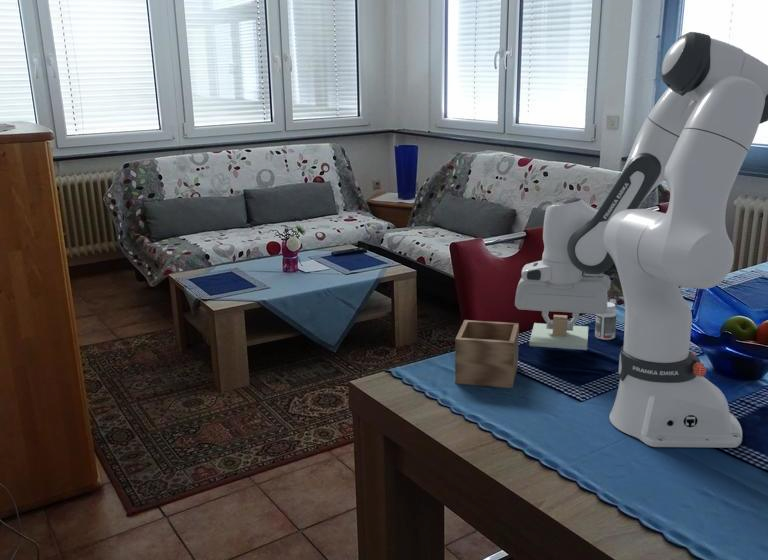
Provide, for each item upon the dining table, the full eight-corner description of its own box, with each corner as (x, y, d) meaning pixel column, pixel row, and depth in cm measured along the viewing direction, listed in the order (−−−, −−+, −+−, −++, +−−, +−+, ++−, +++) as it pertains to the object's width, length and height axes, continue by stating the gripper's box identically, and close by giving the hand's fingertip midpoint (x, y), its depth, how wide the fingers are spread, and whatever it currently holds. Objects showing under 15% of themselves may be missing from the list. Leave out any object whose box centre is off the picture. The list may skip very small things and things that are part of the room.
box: (517, 365, 162) (518, 323, 159) (512, 388, 151) (513, 343, 148) (464, 361, 165) (464, 319, 162) (455, 383, 154) (455, 339, 151)
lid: (588, 330, 170) (589, 310, 169) (587, 350, 159) (588, 328, 157) (534, 326, 174) (534, 307, 172) (529, 345, 162) (529, 324, 161)
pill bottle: (617, 335, 178) (619, 302, 176) (612, 341, 174) (614, 308, 172) (598, 332, 180) (599, 300, 178) (592, 338, 177) (594, 305, 174)
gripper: (610, 269, 162) (607, 327, 166) (517, 264, 167) (516, 321, 171) (611, 276, 156) (607, 337, 160) (514, 272, 161) (513, 330, 165)
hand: (559, 329), depth 166 cm, fingers closed on lid, 3 cm apart
